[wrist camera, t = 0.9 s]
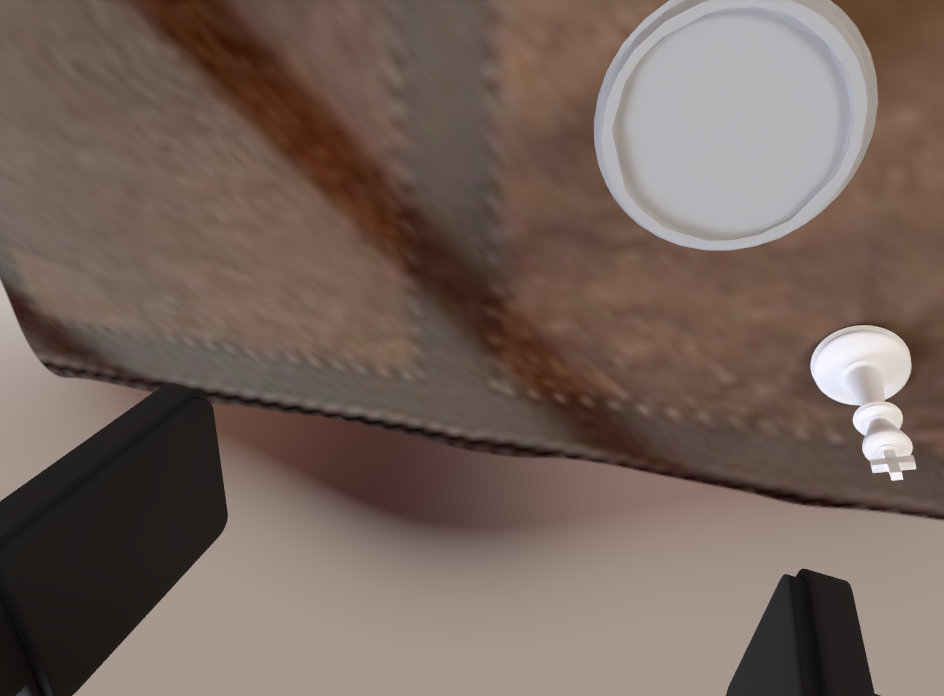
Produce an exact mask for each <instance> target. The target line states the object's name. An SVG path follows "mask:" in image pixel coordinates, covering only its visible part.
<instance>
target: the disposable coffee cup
mask: <svg viewBox="0 0 944 696" xmlns="http://www.w3.org/2000/svg"><path fill="white" fill-rule="evenodd" d="M877 106H878V92H877V76H876V72H875V68H874V64H873V60H872V57H871V53H870V51H869V49H868V47H867V45H866V43H865V41H864V39H863V37H862V36H861V34H860V32H859V30H858V28H857V26H856V25H855V24H854V23H853V22H852V20H851V19H850V18H849V17H848V16H847V15H846V14H845V12H844V11H843V10H842V9H841V8H840V7H838V6H837V5H836V4H834V3H833V2H832V1H830V0H669V1H668V2H667V3H665V4H664V5H663V6H661V7H660V8H659V9H657V10H656V11H655V12H654V13H652V14H651V15H650V16H648V17H647V18H646V19H644V21H643V22H642V23H641V24H640V25H639V26H638V27H637V28H636V29H635V31H634V32H633V33H632V34H631V35H630V36H629V37H628V38H627V40H626V41H625V42H624V43H623V44H622V46H621V48H620V49H619V51H618V53H617V55H616V56H615V58H614V60H613V62H612V63H611V65H610V67H609V69H608V70H607V72H606V75H605V78H604V81H603V84H602V87H601V89H600V92H599V95H598V99H597V106H596V112H595V119H594V141H595V149H596V154H597V160H598V164H599V167H600V170H601V172H602V175H603V177H604V180H605V183H606V185H607V187H608V188H609V190H610V192H611V194H612V196H613V197H614V199H615V200H616V201H617V202H618V204H619V205H620V206H621V208H622V209H623V210H624V211H625V212H626V213H627V214H628V215H629V216H630V217H631V218H632V219H633V220H634V221H635V222H636V223H637V224H639V225H640V226H642V227H643V228H645V229H647V230H648V231H650V232H651V233H653V234H654V235H656V236H658V237H660V238H663V239H665V240H667V241H670V242H672V243H675V244H677V245H680V246H685V247H691V248H697V249H702V250H736V249H741V248H747V247H753V246H757V245H760V244H763V243H766V242H769V241H772V240H775V239H778V238H781V237H782V236H784V235H786V234H788V233H790V232H792V231H793V230H795V229H797V228H799V227H801V226H803V225H804V224H806V223H807V222H808V221H810V220H811V219H813V218H814V217H815V216H817V215H818V214H819V213H821V212H822V211H823V210H824V209H825V208H826V207H827V206H828V205H829V204H830V203H831V202H832V201H833V200H834V199H835V198H836V197H837V196H838V195H839V194H840V193H841V192H842V190H843V189H844V188H845V186H846V185H847V184H848V182H849V181H850V180H851V179H852V177H853V175H854V174H855V172H856V170H857V168H858V167H859V165H860V163H861V162H862V160H863V158H864V156H865V153H866V150H867V148H868V145H869V143H870V140H871V137H872V134H873V130H874V126H875V121H876V113H877Z"/></svg>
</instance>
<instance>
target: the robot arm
mask: <svg viewBox="0 0 944 696" xmlns="http://www.w3.org/2000/svg"><path fill="white" fill-rule="evenodd" d="M227 518H228V514H227V506H226V498H225V491H224V484H223V476H222V469H221V462H220V455H219V447H218V440H217V433H216V425H215V418H214V411H213V407H212V405H211V404H210V403H209V402H208V400H207V397H206V395H205V394H204V393H203V392H202V391H199V390H196V389H192V388H189V387H186V386H182V385H179V384H175V383H168V384H166V385H164V386H162V387H160V388H159V389H158V390H156V391H155V392H153V393H152V394H151V395H149V396H148V397H146V398H145V399H144V400H142V401H141V402H140V403H138V404H137V405H135V406H134V407H132V408H131V409H130V410H128V411H127V412H125V413H124V414H123V415H121V416H120V417H118V418H117V419H115V420H114V421H113V422H111V423H110V424H108V425H107V426H106V427H104V428H103V429H101V430H100V431H99V432H97V433H96V434H94V435H93V436H92V437H90V438H89V439H87V440H86V441H85V442H83V443H82V444H80V445H79V446H77V447H76V448H75V449H73V450H72V451H70V452H69V453H68V454H66V455H65V456H63V457H62V458H61V459H59V460H58V461H56V462H55V463H54V464H52V465H51V466H49V467H48V468H47V469H45V470H44V471H42V472H41V473H40V474H38V475H37V476H35V477H34V478H32V479H31V480H30V481H28V482H27V483H26V484H24V485H23V486H21V487H20V488H18V489H17V490H16V491H14V492H13V493H11V494H10V495H9V496H7V497H6V498H4V499H3V500H2V501H1V502H0V696H72V695H73V694H74V693H76V692H77V691H78V689H79V688H80V687H81V686H82V685H83V684H84V683H85V682H86V681H87V680H88V679H89V677H90V676H91V675H92V674H93V673H94V672H95V671H96V670H97V669H98V668H99V666H101V664H102V663H103V662H104V661H105V660H106V659H107V658H108V657H109V656H110V654H112V652H113V651H114V650H115V649H116V648H117V647H118V646H119V645H120V644H121V643H122V642H123V640H124V639H125V638H126V637H127V636H128V635H129V634H130V633H131V632H132V631H133V630H134V628H135V627H136V626H137V625H138V624H139V623H140V622H141V621H142V620H143V618H145V616H146V615H147V614H148V613H149V612H150V611H151V610H152V609H153V608H154V606H156V604H157V603H158V602H159V601H160V600H161V599H162V598H163V597H164V596H165V595H166V593H167V592H168V591H169V590H170V589H171V588H172V587H173V586H174V585H175V584H176V583H177V582H178V580H179V579H180V578H181V577H182V576H183V575H184V574H185V573H186V572H187V571H188V570H189V568H190V567H191V566H192V565H193V564H194V563H195V562H196V561H197V560H198V559H199V558H200V556H201V555H202V554H203V553H204V552H205V551H206V550H207V549H208V548H209V547H210V545H211V544H212V543H213V542H214V541H215V540H216V539H217V538H218V537H219V536H220V534H221V533H222V531H223V530H224V528H225V525H226V523H227ZM726 696H880V695H877V694H874V689H873V685H872V680H871V675H870V672H869V666H868V662H867V657H866V652H865V648H864V643H863V639H862V634H861V629H860V625H859V621H858V616H857V611H856V607H855V602H854V597H853V593H852V589H851V586H850V584H849V583H848V582H847V581H845V580H841V579H837V578H834V577H831V576H828V575H824V574H821V573H817V572H814V571H810V570H807V569H801V570H800V571H799V572H798V574H797V575H796V577H794V576H790V575H787V574H785V575H783V576H782V578H781V579H780V581H779V583H778V585H777V588H776V590H775V592H774V594H773V596H772V598H771V600H770V602H769V604H768V606H767V608H766V611H765V612H764V614H763V617H762V619H761V621H760V623H759V625H758V627H757V629H756V631H755V633H754V635H753V637H752V640H751V641H750V643H749V646H748V648H747V650H746V652H745V654H744V656H743V658H742V660H741V662H740V664H739V666H738V668H737V670H736V672H735V675H734V677H733V679H732V681H731V683H730V685H729V687H728V690H727V694H726Z"/></svg>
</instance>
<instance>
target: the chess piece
mask: <svg viewBox="0 0 944 696" xmlns="http://www.w3.org/2000/svg"><path fill="white" fill-rule="evenodd" d="M811 373H812V376H813V378H814V380H815V382H816V384H817V385H818V387H819V388H820V390H821V391H822V392H823V393H824V394H826V395H827V396H828V397H830V398H832V399H834V400H836V401H838V402H841V403H845V404H850V405H860V407H859V408H858V409H857V410H856V412H855V413H854V416H853V423H854V426H855V427H856V429H857V430H858V431H859V432H860V433H862V434H863V435H865V438H864V440H863V445H862V450H863V453H864V455H865V457H866V458H867V459H868V460H870V464H871V468H872V472H873V473H879V472H889V474H890V477H891V480H903V477H902V471H901V470H911V469H916V464H915V460H914V457H913V455H911V453H912V449H913V446H912V442H911V440H910V439H909V438H908V436H907V435H906V434H904V433H903V432H902V431H901V430H899V429H900V427H901V425H902V421H903V415H902V412H901V411H900V409H899V408H898V407H897V406H895V405H893V404H891V403H889V402H885V400H886V399H888V398H890V397H891V396H893V395H894V394H896V393H897V392H898V391H899V390H901V389H902V387H903V386H904V385H905V384H906V382H907V380H908V378H909V376H910V373H911V357H910V352H909V349H908V347H907V346H906V344H905V343H904V341H903V340H902V339H901V338H900V337H899V336H897V335H896V334H894V333H893V332H891V331H889V330H887V329H884V328H881V327H877V326H870V325H858V326H851V327H847V328H844V329H841V330H838V331H836V332H834V333H832V334H831V335H829V336H827V337H826V338H825V339H824V340H823V341H822V342H821V343H820V344H819V345H818V346H817V348H816V349H815V351H814V353H813V355H812V358H811Z"/></svg>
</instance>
